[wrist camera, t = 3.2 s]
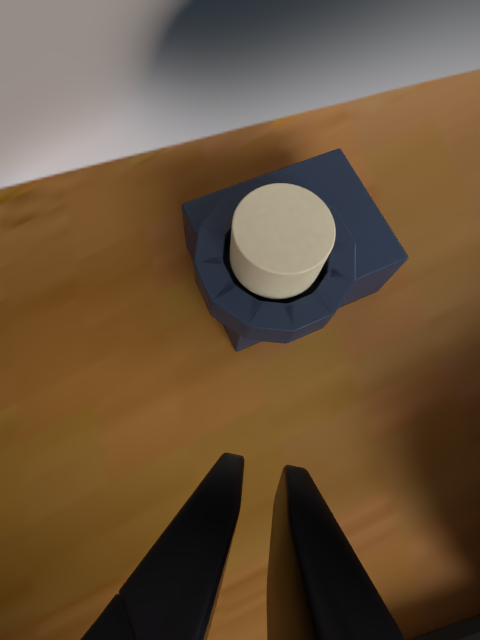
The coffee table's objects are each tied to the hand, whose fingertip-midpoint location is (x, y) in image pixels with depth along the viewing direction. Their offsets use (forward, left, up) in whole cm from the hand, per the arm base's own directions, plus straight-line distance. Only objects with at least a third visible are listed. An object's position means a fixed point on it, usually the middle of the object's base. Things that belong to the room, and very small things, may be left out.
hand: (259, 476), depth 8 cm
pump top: (+5, +7, -8) cm, 12 cm away
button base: (+7, +9, -14) cm, 18 cm away
